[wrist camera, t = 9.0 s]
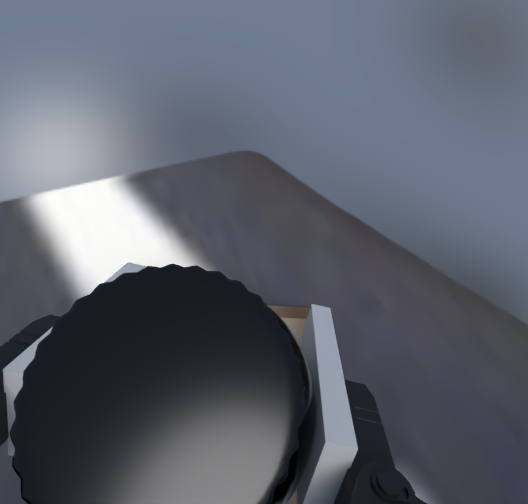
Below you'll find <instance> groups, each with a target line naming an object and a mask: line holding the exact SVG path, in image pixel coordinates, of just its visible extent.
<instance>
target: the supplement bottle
mask: <svg viewBox="0 0 528 504" xmlns="http://www.w3.org/2000/svg"><path fill="white" fill-rule="evenodd" d="M13 402H14V411H15V420H14V422H13V424H12V427H11V430H10V433H9V434H10V437H11V440H12V443H13V445H14V447H15V453H14V456H13V463H12V467H13V468H14V470H15V472H16V473H17V475H18V476H19V477H20V478H21V497H22V498H23V499H24V500H25V501H26V503H28V504H287V503H288V501H289V500H290V498H291V496H292V495H293V493H294V492H295V490H296V488H297V486H298V484H299V482H300V480H301V478H302V475H303V473H304V470H305V468H306V465H307V462H308V459H309V455H310V452H311V447H312V443H313V438H314V430H315V416H316V406H315V393H314V387H313V381H312V377H311V373H310V369H309V366H308V363H307V360H306V358H305V355H304V353H303V351H302V349H301V347H300V345H299V343H298V341H297V339H296V338H295V336H294V334H293V333H292V332H291V330H290V329H289V327H288V326H287V325H286V324H285V322H284V321H283V320H282V319H281V318H280V317H279V316H278V315H277V314H276V313H275V312H274V311H273V310H272V309H271V308H270V307H268V306H267V305H266V304H265V303H263V301H262V299H261V297H260V296H259V295H257V294H255V293H252V292H249V291H248V290H247V289H246V287H245V286H244V285H243V284H242V283H241V282H240V281H236V280H230V279H228V278H227V277H226V276H225V275H223V274H222V273H221V272H218V271H206V270H204V269H203V268H201V267H199V266H190V267H182V266H179V265H176V264H170V265H167V266H165V267H162V268H159V267H152V266H147V267H145V268H143V269H142V270H140V271H138V272H129V273H123V274H121V275H120V276H119V277H117V278H116V279H115V280H114V281H111V282H106V283H102V284H99V285H98V286H97V287H96V288H95V289H94V291H93V292H92V293H91V294H90V295H87V296H84V297H82V298H80V299H78V300H76V302H75V303H74V304H73V306H72V308H71V309H70V311H69V312H68V313H66V314H64V315H62V316H61V317H59V318H58V319H57V320H56V321H55V323H54V325H53V327H52V330H51V332H50V334H48V335H47V336H46V337H45V338H44V339H42V340H41V341H40V342H39V343H38V345H37V349H36V352H35V357H34V359H33V360H32V361H31V362H30V364H29V365H28V366H27V367H26V369H25V370H24V371H23V386H22V388H21V389H20V391H19V392H18V394H17V396H16V398H15V400H14V401H13Z"/></svg>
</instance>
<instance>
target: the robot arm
mask: <svg viewBox="0 0 528 504" xmlns="http://www.w3.org/2000/svg"><path fill="white" fill-rule="evenodd" d="M145 267H146V266H142V265H137V264H133V263H127V264H126V265H124V266H123V267H122V268H121V269H120V270H119V271H117V272H116V273H115V274H114V275H113V276H112V277H110V278H109V279H108V280H107V281H106V282H111V281H114V280H115V279H116V278H117V277H119V276H120V275H121V274H123V273H129V272H138V271H140V270H142V269H143V268H145ZM106 282H104V283H106ZM58 318H59V317H58V316H53V315H48V316H46V317H43V318H41V319H38V320H36V321H34V322H32V323H31V324H29V325H28V326H27V327H25V328H24V329H23V330H22V331H20V333H19V334H16V335H15V336H14V337H12V338H11V339H10V341H9V342H6V343H5V344H3V345H2V346H1V347H0V446H1V445H2V444H3V443H4V442H5V441H6V439H7V444H8V455H11V456H14V453H15V447H14V445H13V443H12V440H11V437H10V434H9V433H10V430H11V427H12V424H13V422H14V420H15V411H14V402H13V401H14V400H15V398H16V396H17V394H18V392H19V391H20V389H21V388H22V386H23V371H24V370H25V369H26V367H27V366H28V365H29V364H30V362H31V361H32V360H33V359H34V357H35V352H36V349H37V345H38V343H39V342H40V341H41V340H42V339H44V338H45V337H46V336H47V335H48V334H50V332H51V330H52V327H53V325H54V323H55V321H56V320H57V319H58ZM300 347H301V349H302V351H303V353H304V355H305V358H306V360H307V363H308V366H309V369H310V373H311V377H312V381H313V387H314V393H315V406H316V416H315V430H314V438H313V443H312V447H311V452H310V455H309V459H308V462H307V465H306V468H305V470H304V473H303V475H302V478H301V480H300V482H299V484H298V486H297V504H427V503H425V502H423V501H422V500H420V499H419V498H418V497H416V496H415V492H414V490H413V489H412V487H411V485H410V483H409V482H408V480H407V479H406V478H405V477H404V476H403V475H402V474H401V473H400V472H399V471H397V470H396V469H395V466H394V462H393V459H392V456H391V452H390V449H389V446H388V442H387V439H386V435H385V432H384V429H383V425H381V423H382V422H381V418H380V415H379V414H378V408H377V405H376V402H375V398H374V396H373V395H372V394H371V392H370V391H369V390H368V388H367V387H366V386H365V385H364V384H360V383H355V382H351V381H347V380H344V376H343V371H342V366H341V361H340V356H339V351H338V346H337V341H336V336H335V331H334V326H333V321H332V316H331V311H330V308H328V307H323V306H319V305H314V304H311V307H310V311H309V314H308V317H307V321H306V324H305V328H304V331H303V334H302V338H301V341H300Z"/></svg>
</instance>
